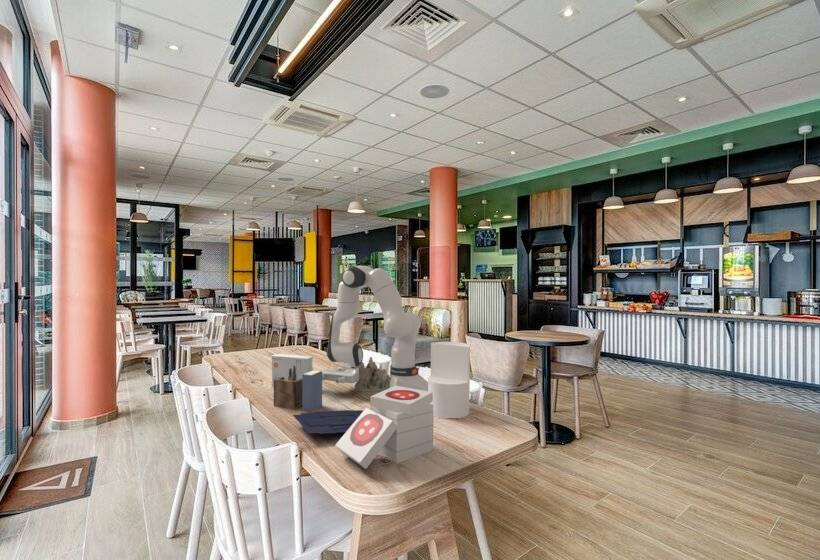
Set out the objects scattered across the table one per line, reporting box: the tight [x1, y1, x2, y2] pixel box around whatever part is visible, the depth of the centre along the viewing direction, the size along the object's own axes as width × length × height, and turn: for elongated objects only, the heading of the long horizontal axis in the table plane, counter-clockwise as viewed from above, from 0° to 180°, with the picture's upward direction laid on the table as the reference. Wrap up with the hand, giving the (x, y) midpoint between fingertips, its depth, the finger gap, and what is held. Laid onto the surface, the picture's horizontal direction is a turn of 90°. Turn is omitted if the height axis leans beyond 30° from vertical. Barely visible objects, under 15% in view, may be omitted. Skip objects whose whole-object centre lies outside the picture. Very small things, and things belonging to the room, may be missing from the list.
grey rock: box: [353, 356, 391, 392], centre depth 204 cm, size 16×16×15 cm
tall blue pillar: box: [301, 369, 323, 412], centre depth 173 cm, size 4×8×15 cm, turn 160°
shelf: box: [273, 377, 303, 410], centre depth 179 cm, size 11×12×12 cm
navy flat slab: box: [292, 409, 364, 435], centre depth 152 cm, size 24×30×4 cm
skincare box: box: [271, 353, 314, 387], centre depth 205 cm, size 21×5×16 cm, turn 73°
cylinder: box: [427, 341, 471, 419], centre depth 169 cm, size 17×17×28 cm
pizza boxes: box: [334, 386, 434, 470], centre depth 130 cm, size 19×30×18 cm, turn 128°
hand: (328, 380), depth 186 cm, fingers open, 8 cm apart
